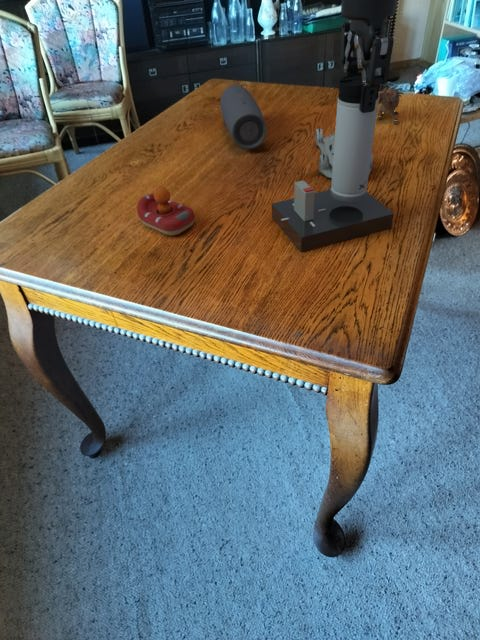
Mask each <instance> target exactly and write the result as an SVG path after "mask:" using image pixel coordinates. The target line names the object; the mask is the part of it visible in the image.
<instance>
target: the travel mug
mask: <svg viewBox="0 0 480 640" xmlns="http://www.w3.org/2000/svg"><path fill="white" fill-rule="evenodd" d="M358 72H359V73H354V74H350V75H347V76H346V75H345V76H343V77H342V78H340V80H339V83H338V93H337V104H336V116H335V128H334V134H335V142H334V156H333V169H332V179H331V184H330V185H331V186H330V189H331V196H332V197H333V198H334V199H335V200H338V201H340V202H346V203H352V202H358V201H360V200H362V199H364V198H365V196H366V192H368V191H367V190H368V185H369V176H370V174H369V168H370V161H371V153H373V144H374V137H375V130H376V129H375V128H376V121H377V114H378V108H379V107H378V106H379V104H378V101H379V94H380V85H381V84H380V85H378V88H377V96H376V104H375V110H374V111H373V112H368V113H362V112H361V111H360V110H359V108H360V98H361V88H362V86H363V85H362V73H361V71H358Z"/></svg>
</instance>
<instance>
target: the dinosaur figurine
mask: <svg viewBox="0 0 480 640" xmlns="http://www.w3.org/2000/svg"><path fill="white" fill-rule="evenodd" d="M398 86H399V85H398V84H397V85H394V86H393V87H389V85H387V86H386V87H385V88H384V89H383V90H382V91H380V92H379V96H378V97H379V99H378V105H380V106H379V107H378V112H377V114H376V116H377V117H376V120H378V121H382V120H383V119H382V118H383V116H384V115H385V114H387V115H389V114H390V115H391V116H392V119H393V124H394V125H399V124H400V123H399V120H398V118H397V115H398V114H399V112H398V111H397V112H394V110H396V109H397V108H398V106H399V104H400V98H402V96H403V95H404V94H405V93H404V92H402V91H403V90H404V88H402V87H398ZM397 87H398V88H397ZM382 112H384V114H382ZM378 116H382V117H378ZM394 120H398V121H394Z"/></svg>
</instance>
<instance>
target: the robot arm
mask: <svg viewBox="0 0 480 640" xmlns="http://www.w3.org/2000/svg"><path fill="white" fill-rule="evenodd" d="M397 6H398V0H341V7H340V15H341V16H342V17H343V18H345V19H347V20H346V21H345V20H344V21H342V23H341V39H340V40H341V44H340V65H341V66H343V72H344V73H345V76H347V75H350V74H354V73H359V72H361V73H362V85H363V86H362V88H361V98H360V108H359V110H360V111H361V112H362V113H368V112H373V111H374V110H375V104H376V96H377V88H378V85H385V84H387V81H388V76H389V70H390V66H391V60H392V53H393V49H394V43H395V42H394V41H395V40H394V38H393V36H390V37H389V36H388V37H387V36H385V20H386V19H388V18H390V17H392V16H394V15H395V14H396V11H397Z"/></svg>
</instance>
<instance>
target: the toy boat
mask: <svg viewBox="0 0 480 640" xmlns="http://www.w3.org/2000/svg"><path fill="white" fill-rule="evenodd" d="M136 212H137V216H138V218H139V220H140V221H141V223H142V224H144V226H146V227H148V228H150V229H153V230H155V231H157V232H159V233H161V234H163V235H166V236H172V237H173V236H177V235H180V234H181V233H182V232H185V231H186V230H188V229H189V228H191V227H192V226H193V225H194V223H195V220H196V213H195V211H194V210H193V208H191V207H189V206H186V205H184V204H181V203H180V202H179V203H178V202H176V201H174V200H171V193H170V190H169V189H168V188H166V187H163V186H161V187H157V188H156V189H155V190H154V192H153V193H148V194H145V195H143V196H142V197H141V198H140V199H139V200H138V202H137V205H136Z"/></svg>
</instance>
